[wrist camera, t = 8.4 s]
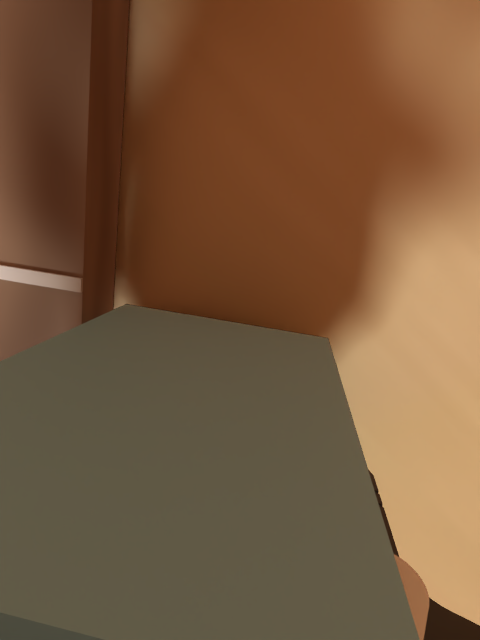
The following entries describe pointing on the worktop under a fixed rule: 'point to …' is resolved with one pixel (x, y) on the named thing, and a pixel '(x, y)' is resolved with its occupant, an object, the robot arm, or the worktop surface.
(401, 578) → the robot arm
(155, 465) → the block
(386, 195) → the worktop surface
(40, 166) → the board
